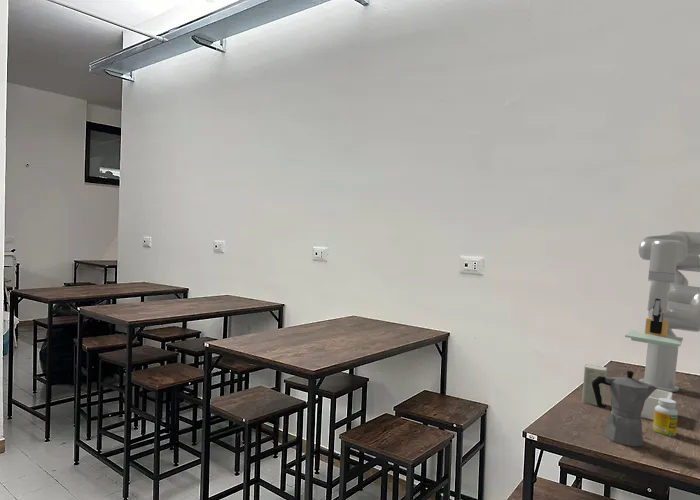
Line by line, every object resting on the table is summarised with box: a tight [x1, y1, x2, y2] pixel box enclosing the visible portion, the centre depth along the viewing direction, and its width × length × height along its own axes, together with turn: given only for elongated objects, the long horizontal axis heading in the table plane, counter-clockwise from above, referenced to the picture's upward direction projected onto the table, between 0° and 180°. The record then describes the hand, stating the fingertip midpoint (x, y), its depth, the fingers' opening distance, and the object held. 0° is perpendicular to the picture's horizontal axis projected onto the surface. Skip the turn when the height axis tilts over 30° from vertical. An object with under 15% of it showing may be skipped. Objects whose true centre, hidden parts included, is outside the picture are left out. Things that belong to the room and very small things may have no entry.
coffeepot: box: [592, 370, 657, 447], centre depth 130 cm, size 15×9×18 cm, turn 78°
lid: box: [624, 317, 684, 348], centre depth 163 cm, size 13×15×7 cm
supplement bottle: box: [652, 398, 679, 437], centre depth 135 cm, size 5×5×10 cm
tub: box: [641, 389, 673, 421], centre depth 151 cm, size 12×14×7 cm
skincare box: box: [581, 364, 608, 407], centre depth 155 cm, size 6×4×12 cm
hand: (655, 331), depth 166 cm, fingers closed on lid, 3 cm apart
